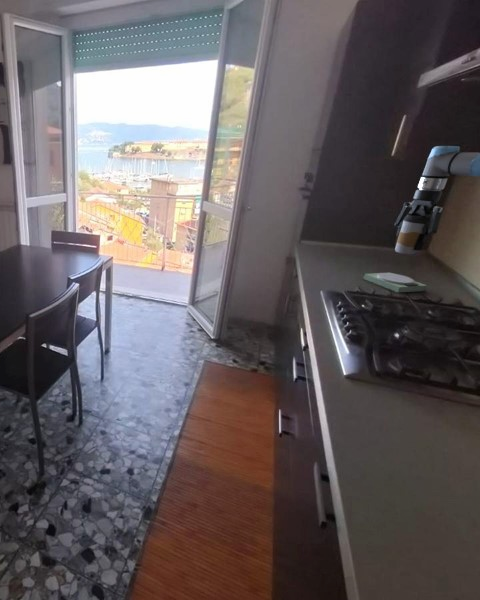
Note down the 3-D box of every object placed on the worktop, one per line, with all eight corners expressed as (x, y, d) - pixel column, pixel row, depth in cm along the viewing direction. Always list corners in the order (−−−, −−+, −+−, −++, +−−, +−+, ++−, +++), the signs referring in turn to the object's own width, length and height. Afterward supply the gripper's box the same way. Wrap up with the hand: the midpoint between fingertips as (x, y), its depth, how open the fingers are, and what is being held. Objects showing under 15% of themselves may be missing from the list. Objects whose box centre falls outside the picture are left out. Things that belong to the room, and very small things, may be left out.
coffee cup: (414, 251, 148) (430, 215, 142) (419, 256, 142) (435, 219, 136) (389, 248, 152) (403, 212, 146) (393, 253, 146) (407, 216, 139)
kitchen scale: (424, 290, 147) (427, 283, 145) (397, 292, 145) (400, 285, 144) (388, 277, 161) (391, 270, 160) (363, 278, 159) (365, 272, 158)
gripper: (396, 186, 145) (376, 241, 155) (450, 193, 127) (424, 254, 136) (411, 186, 146) (391, 240, 156) (467, 192, 128) (441, 253, 137)
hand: (407, 247), depth 146 cm, fingers closed on coffee cup, 7 cm apart
